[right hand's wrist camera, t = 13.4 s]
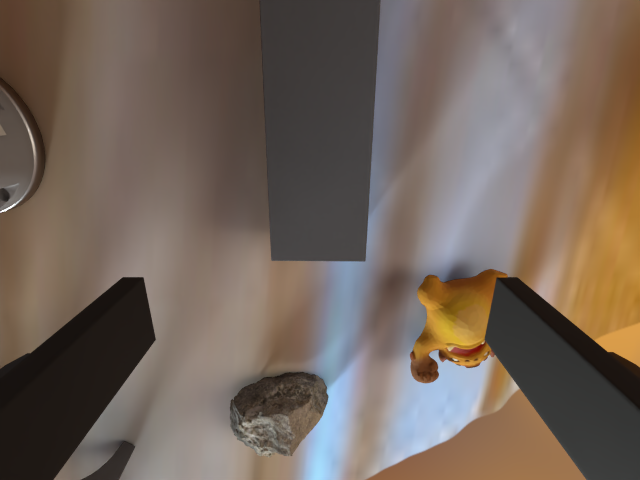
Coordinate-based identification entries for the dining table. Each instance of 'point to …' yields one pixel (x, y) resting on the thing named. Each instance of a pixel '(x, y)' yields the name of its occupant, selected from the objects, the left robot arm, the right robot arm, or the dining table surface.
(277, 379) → the rock
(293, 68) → the long gray bar
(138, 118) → the dining table surface
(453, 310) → the toy
